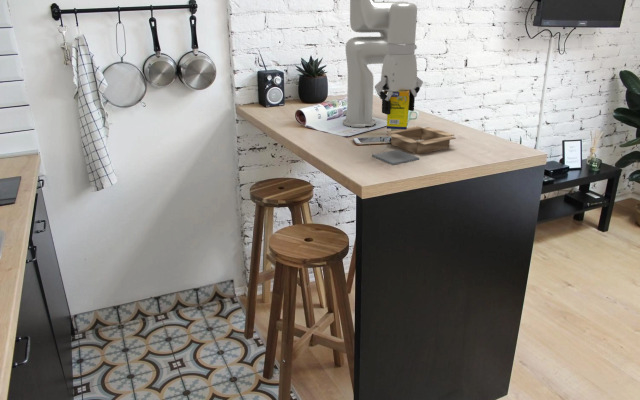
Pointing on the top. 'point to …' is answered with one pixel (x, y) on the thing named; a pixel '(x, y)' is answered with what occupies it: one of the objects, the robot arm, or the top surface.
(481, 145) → the top surface
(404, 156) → the coaster
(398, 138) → the carton
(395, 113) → the supplement box
